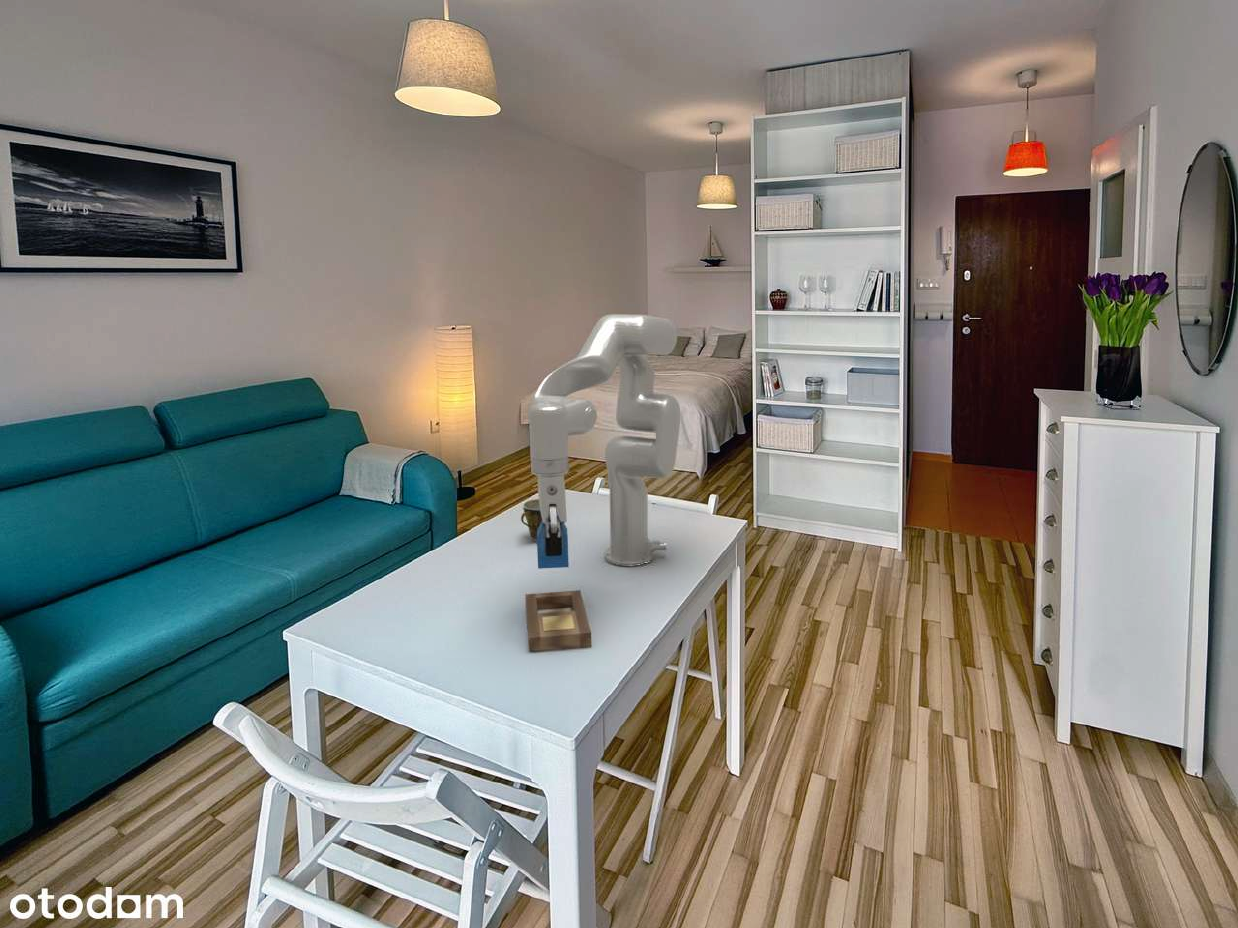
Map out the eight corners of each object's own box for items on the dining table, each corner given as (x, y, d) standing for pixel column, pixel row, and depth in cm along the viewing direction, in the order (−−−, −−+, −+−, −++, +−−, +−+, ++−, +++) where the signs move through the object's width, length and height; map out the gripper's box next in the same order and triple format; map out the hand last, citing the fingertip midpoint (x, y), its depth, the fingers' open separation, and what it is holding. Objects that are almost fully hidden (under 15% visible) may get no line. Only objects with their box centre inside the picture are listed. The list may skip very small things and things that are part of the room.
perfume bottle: (538, 557, 154) (536, 503, 151) (567, 556, 155) (566, 501, 152) (538, 568, 148) (535, 512, 145) (568, 567, 149) (566, 511, 146)
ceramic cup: (541, 530, 208) (539, 496, 205) (568, 537, 202) (567, 502, 199) (509, 543, 197) (507, 508, 195) (537, 551, 192) (535, 515, 189)
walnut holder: (580, 602, 161) (580, 589, 161) (591, 646, 142) (591, 631, 142) (525, 606, 160) (525, 593, 159) (529, 652, 141) (528, 637, 140)
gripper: (572, 475, 139) (574, 563, 143) (564, 454, 155) (567, 533, 160) (532, 477, 138) (536, 566, 142) (529, 455, 154) (532, 535, 159)
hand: (552, 548), depth 151 cm, fingers closed on perfume bottle, 6 cm apart
